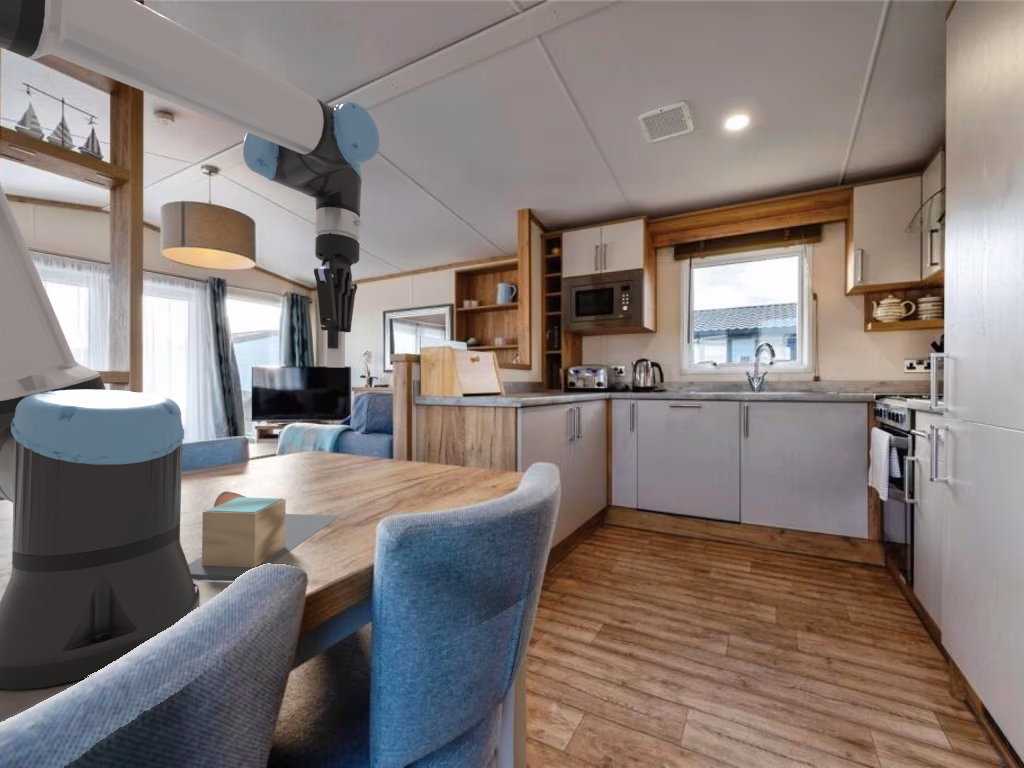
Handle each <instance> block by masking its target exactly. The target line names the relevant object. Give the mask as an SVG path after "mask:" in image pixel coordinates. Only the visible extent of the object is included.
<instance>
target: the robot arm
mask: <svg viewBox="0 0 1024 768" xmlns="http://www.w3.org/2000/svg"><path fill="white" fill-rule="evenodd" d="M0 49H4V50H6V51H8V52H11V53H14V54H16V55H20V56H22V57H25V58H27V59H30V60H36V59H39V58H41V57H46V56H47V55H51V56H55V57H57V58H60V59H62V60H65V61H66V62H69V63H73V64H74V65H77V66H80V67H82V68H85V69H87V70H90V71H92V72H94V73H97V74H100V75H102V76H105V77H108V78H110V79H113V80H115V81H118V82H120V83H122V84H125V85H128V86H129V87H132V88H135V89H138V90H140V91H142V92H146V93H148V94H149V95H153V96H154V97H158V98H161V99H163V100H165V101H168V102H171V103H173V104H175V105H177V106H181V107H183V108H186V109H188V110H190V111H193V112H195V113H197V114H200V115H203V116H206V117H209V118H210V119H213V120H215V121H218V122H220V123H223V124H226V125H228V126H231V127H233V128H235V129H239V130H240V131H243V132H245V133H246V134H245V137H244V140H243V145H242V149H243V150H242V151H243V153H242V157H243V160H244V162H245V165H246V166H247V167H248V169H249V170H250V171H252V172H253V173H256V174H258V175H259V176H261V177H264V178H266V179H267V180H269V181H270V182H275V183H278V184H279V185H282V186H284V187H287V188H290V189H293V190H294V191H298V192H300V193H302V194H304V195H306V196H309V197H311V198H314V199H315V229H314V231H315V234H316V237H315V240H314V241H315V245H314V247H315V248H314V254H315V258H317V259H318V260H320V261H321V267H314V268H313V274H314V278H315V282H316V289H317V290H316V291H317V299H318V301H317V302H318V310H319V321H320V326H321V327H320V329H321V331H326V368H345V362H346V361H345V360H346V357H345V356H346V333H351V331H352V325H353V324H352V322H353V314H354V306H355V299H356V298H355V297H356V293H357V291H358V290H357V289H358V284H357V283H353V282H352V281H353V273H352V267H351V266H352V265H354V264H355V265H356V264H358V262H359V261H360V243H359V240H360V227H361V226H362V225H363V222H362V221H361V197H362V194H361V193H362V173H361V170H362V169H361V165H362V164H365V163H366V162H368V161H371V160H372V159H374V158H375V157H376V156H377V154H378V152H379V149H380V133H379V130H378V129H379V128H378V127H377V124H376V122H375V120H374V118H373V117H372V116H371V114H370V113H369V112H368V111H367V110H366V108H364V107H363V106H362V105H360V104H358V103H357V102H346V103H345V102H344V103H338V104H336V105H335V106H331V105H330V104H328V103H325V102H324V101H321V100H320V99H318V98H316V97H314V96H312V95H310V94H308V93H307V92H305V91H303V90H301V89H299V88H297V87H296V86H293V85H292V84H290V83H289V82H287V81H284V80H283V79H281V78H279V77H277V76H276V75H273V74H271V73H269V72H268V71H266V70H264V69H263V68H260V67H259V66H257V65H255V64H254V63H251V62H249V61H248V60H246V59H244V58H242V57H241V56H238V55H236V54H235V53H233V52H231V51H229V50H227V49H226V48H223V47H221V45H218V44H217V43H215V42H212V41H211V40H209V39H207V38H205V37H204V36H202V35H200V34H198V33H197V32H194V31H192V30H191V29H189V28H187V27H184V26H183V25H181V24H180V23H178V22H176V21H174V20H172V19H170V18H168V17H167V16H165V15H163V14H161V13H159V12H158V11H155V10H153V9H151V8H150V7H148V6H146V5H145V4H143V3H140V2H139V1H137V0H0ZM45 288H46V287H45V286H44V284H43V281H42V279H41V277H40V274H39V272H38V269H37V267H36V265H35V263H34V260H33V258H32V255H31V253H30V250H29V248H28V246H27V242H26V241H25V238H24V236H23V234H22V232H21V229H20V227H19V224H18V222H17V220H16V217H15V214H14V211H13V210H12V207H11V205H10V203H9V201H8V198H7V195H6V193H5V191H4V189H3V186H2V183H0V498H1V499H3V500H6V501H9V502H11V503H12V552H11V553H12V556H11V562H12V563H11V564H12V565H11V566H12V567H11V575H10V578H9V579H8V580H9V581H8V583H7V584H6V587H5V590H4V592H3V595H2V597H1V600H0V689H3V690H4V689H5V690H29V689H38V688H45V687H46V688H47V687H53V686H58V685H62V684H61V683H63V684H66V683H65V682H68V683H71V682H75V681H80V680H83V678H84V677H87V676H88V675H90V674H92V673H94V672H97V671H98V670H100V669H102V668H104V667H105V666H107V665H108V664H110V663H112V662H113V661H116V660H117V659H119V658H120V657H122V656H123V655H125V654H127V653H128V652H130V651H131V650H133V649H134V648H136V647H137V646H139V645H140V644H142V643H144V642H145V641H147V640H149V639H150V638H152V637H154V636H156V635H157V634H158V633H160V632H162V631H164V630H166V629H167V628H169V627H171V626H172V625H174V624H175V623H176V622H178V621H179V620H180V619H181V618H183V617H184V616H186V615H187V614H188V613H190V612H191V611H193V610H194V609H196V608H197V607H199V608H200V603H201V602H200V600H201V598H200V597H201V594H200V588H199V586H198V584H197V582H196V581H195V579H192V576H191V572H190V569H189V566H188V564H189V563H188V561H187V558H186V555H185V553H184V550H183V547H182V544H181V512H182V511H181V510H182V509H181V506H182V505H181V504H182V476H183V475H182V469H183V467H182V466H183V441H184V439H185V429H184V427H183V423H182V421H183V420H182V411H181V408H180V407H179V404H178V403H177V402H176V401H174V400H173V399H171V398H170V397H166V396H162V395H159V394H154V393H149V392H148V393H147V392H134V391H131V390H130V391H129V390H115V389H107V388H106V385H105V383H104V382H103V379H102V377H101V374H100V372H99V371H97V370H94V369H92V368H89V367H87V366H84V365H82V364H81V363H79V362H77V360H75V357H74V355H73V352H72V351H71V350H72V349H71V348H70V345H69V342H68V340H67V338H66V336H65V334H64V331H63V329H62V326H61V324H60V321H59V319H58V317H57V314H56V312H55V310H54V307H53V305H52V303H51V300H50V298H49V295H48V292H47V290H46V289H45ZM84 679H85V678H84Z"/></svg>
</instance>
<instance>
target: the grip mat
mask: <svg viewBox="0 0 1024 768" xmlns="http://www.w3.org/2000/svg"><path fill="white" fill-rule="evenodd" d="M339 517H340V515H331V514H330V515H329V514H301V513H300V514H299V513H297V514H296V513H285V547H284V548H283V549H281V550H280V551H278V552H277V553H275V554H274V555H272V556H271V557H269V558H268V559H266V560H265V561H263V562H262V563H260V564H259V565H257V566H256V567H258V566H260V565H263V564H267V563H272V564H274V563H275V562H277V561H278V560H280V559H281V558H282V557H284V556H285V555H286V554H288V553H289V552H291V551H292V550H293V549H296V547H298V546H299V545H301V544H302V543H304V542H305V541H307V539H309V538H311V537H312V536H314V535H315V534H317V533H318V532H319V531H321V530H322V529H323V528H325V527H326V526H328V525H329V524H331V523H332V522H334V521H335V520H336V519H338V518H339ZM188 566H189V569H190V572H191V576H192V579H193V580H206V581H207V580H208V581H209V580H210V581H233V580H235V579H236V578H237V577H239V576H240V575H242V574H243V573H245V572H246V571H248V570H250V569H252V568H255V567H228V566H202V556H201V557H199V558H197V559H194V561H191V562H190V563H188ZM233 582H234V581H233Z"/></svg>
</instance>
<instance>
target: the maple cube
mask: <svg viewBox="0 0 1024 768" xmlns="http://www.w3.org/2000/svg"><path fill="white" fill-rule="evenodd" d="M286 501H287V500H286V498H278V497H277V498H274V497H273V498H272V497H249V496H248V497H247V496H245V497H239V498H236V499H234V500H231V501H228V502H226V503H223V504H221V505H218V506H216V507H214V506H213V507H212V508H211V507H210V508H208V509H206V510H204V511H202V533H201V535H202V537H201V538H202V539H201V557H202V566H228V567H256V566H257V565H259V564H260V563H262V562H263V561H265V560H266V559H268V558H269V557H271V556H272V555H274V554H275V553H277V552H278V551H280V550H281V549H283V548H284V547H285V514H286V511H287V510H286V508H287V507H286V506H287V502H286Z"/></svg>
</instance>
